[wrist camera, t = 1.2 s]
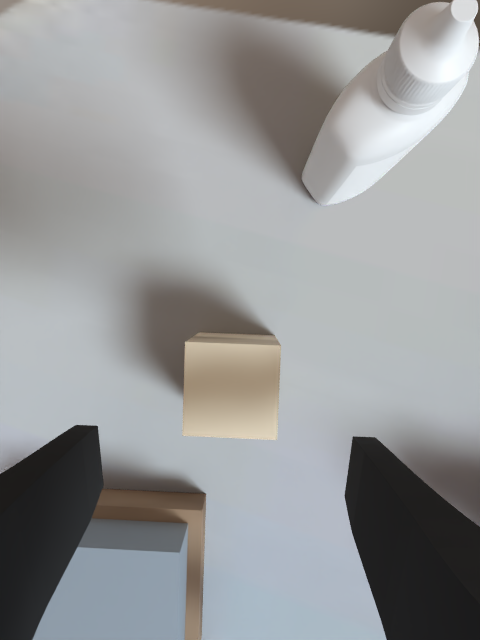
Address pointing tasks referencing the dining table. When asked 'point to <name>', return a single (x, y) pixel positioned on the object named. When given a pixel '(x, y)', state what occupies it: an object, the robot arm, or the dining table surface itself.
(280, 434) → the dining table surface
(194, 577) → the walnut base block
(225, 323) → the dining table surface
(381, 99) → the eye dropper bottle
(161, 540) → the slate top block
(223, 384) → the birch block
